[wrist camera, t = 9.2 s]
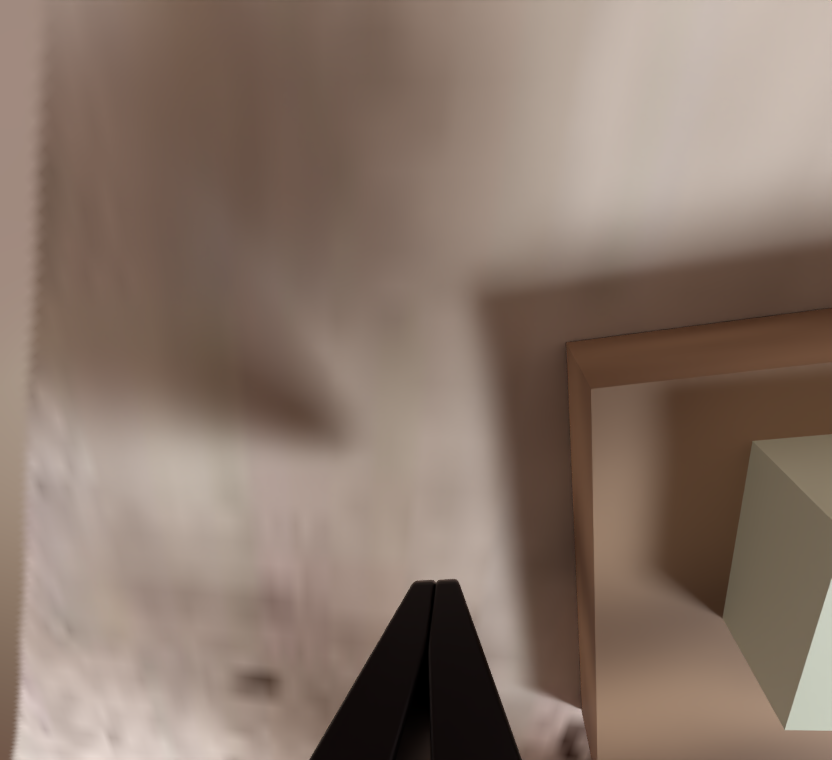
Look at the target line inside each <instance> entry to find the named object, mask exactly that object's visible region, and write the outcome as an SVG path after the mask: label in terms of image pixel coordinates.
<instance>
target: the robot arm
mask: <svg viewBox="0 0 832 760" xmlns="http://www.w3.org/2000/svg"><path fill="white" fill-rule="evenodd" d="M310 760H522V759H521V756H520V753H519V750H518V747H517V745H516V742H515V739H514V736H513V733H512V730H511V728H510V725H509V722H508V719H507V716H506V714H505V711H504V708H503V705H502V702H501V699H500V697H499V694H498V691H497V688H496V685H495V683H494V680H493V677H492V674H491V671H490V669H489V666H488V663H487V660H486V657H485V654H484V652H483V649H482V646H481V643H480V640H479V638H478V635H477V632H476V629H475V626H474V623H473V621H472V618H471V615H470V612H469V609H468V607H467V604H466V601H465V598H464V595H463V592H462V590H461V587H460V584H459V582H458V580H456V579H445V580H438V581H437V582H435V581H434V580H421V581H415V582H414V583H413V584H412V585H411V587H410V589H409V590H408V592H407V594H406V595H405V597H404V599H403V601H402V602H401V604H400V606H399V607H398V609H397V611H396V613H395V614H394V616H393V618H392V619H391V621H390V623H389V625H388V626H387V628H386V630H385V631H384V633H383V635H382V636H381V638H380V640H379V642H378V643H377V645H376V647H375V648H374V650H373V652H372V654H371V655H370V657H369V659H368V660H367V662H366V664H365V666H364V667H363V669H362V671H361V672H360V674H359V676H358V677H357V679H356V681H355V683H354V684H353V686H352V688H351V689H350V691H349V693H348V695H347V696H346V698H345V700H344V701H343V703H342V705H341V707H340V708H339V710H338V712H337V713H336V715H335V717H334V719H333V720H332V722H331V724H330V725H329V727H328V729H327V730H326V732H325V734H324V736H323V737H322V739H321V741H320V742H319V744H318V746H317V748H316V749H315V751H314V753H313V754H312V756H311V758H310Z"/></svg>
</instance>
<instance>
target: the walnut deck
mask: <svg viewBox="0 0 832 760" xmlns="http://www.w3.org/2000/svg"><path fill="white" fill-rule="evenodd" d="M566 350H567V374H568V398H569V421H570V445H571V469H572V492H573V516H574V540H575V563H576V587H577V610H578V634H579V658H580V681H581V705H582V715H583V719H584V724H585V729H586V734H587V739H588V743H589V748H590V753H591V758H592V760H832V731H815V730H784V728H783V726H782V724H781V723H780V721H779V719H778V717H777V715H776V714H775V712H774V710H773V708H772V706H771V705H770V703H769V701H768V699H767V697H766V696H765V694H764V692H763V690H762V688H761V687H760V685H759V683H758V681H757V679H756V678H755V676H754V674H753V672H752V670H751V669H750V667H749V665H748V663H747V661H746V660H745V658H744V656H743V654H742V652H741V651H740V649H739V647H738V645H737V643H736V642H735V640H734V638H733V636H732V634H731V633H730V631H729V629H728V627H727V625H726V624H725V622H724V620H723V612H724V606H725V600H726V595H727V589H728V583H729V577H730V571H731V565H732V559H733V553H734V547H735V541H736V535H737V529H738V524H739V518H740V512H741V506H742V500H743V494H744V488H745V482H746V476H747V470H748V464H749V458H750V452H751V447H752V441H758V440H769V439H781V438H792V437H804V436H815V435H827V434H832V308H828V309H821V310H813V311H805V312H797V313H790V314H782V315H774V316H767V317H759V318H751V319H743V320H736V321H728V322H720V323H713V324H705V325H697V326H689V327H682V328H674V329H666V330H659V331H651V332H643V333H635V334H628V335H620V336H612V337H605V338H597V339H589V340H581V341H574V342H566Z"/></svg>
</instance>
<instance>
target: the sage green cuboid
mask: <svg viewBox="0 0 832 760" xmlns="http://www.w3.org/2000/svg"><path fill="white" fill-rule="evenodd" d="M723 620H724V622H725V624H726V625H727V627H728V629H729V631H730V633H731V634H732V636H733V638H734V640H735V642H736V643H737V645H738V647H739V649H740V651H741V652H742V654H743V656H744V658H745V660H746V661H747V663H748V665H749V667H750V669H751V670H752V672H753V674H754V676H755V678H756V679H757V681H758V683H759V685H760V687H761V688H762V690H763V692H764V694H765V696H766V697H767V699H768V701H769V703H770V705H771V706H772V708H773V710H774V712H775V714H776V715H777V717H778V719H779V721H780V723H781V724H782V726H783V728H784V730H815V731H832V434H827V435H815V436H804V437H792V438H781V439H769V440H758V441H752V447H751V452H750V458H749V464H748V470H747V476H746V482H745V488H744V494H743V500H742V506H741V512H740V518H739V524H738V529H737V535H736V541H735V547H734V553H733V559H732V565H731V571H730V577H729V583H728V589H727V595H726V600H725V606H724V612H723Z"/></svg>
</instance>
